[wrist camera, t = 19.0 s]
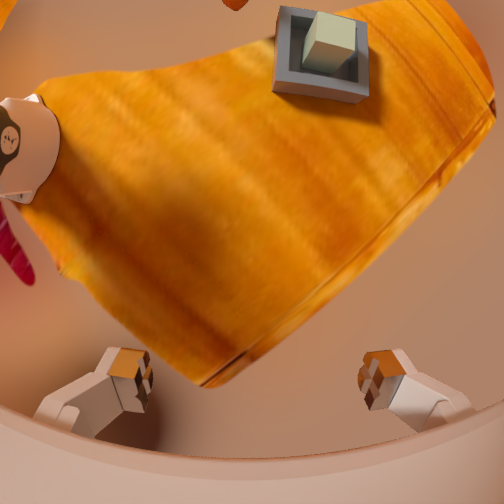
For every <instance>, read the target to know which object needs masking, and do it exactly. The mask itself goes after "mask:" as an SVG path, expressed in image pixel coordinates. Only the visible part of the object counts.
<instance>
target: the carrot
mask: <svg viewBox="0 0 504 504" xmlns="http://www.w3.org/2000/svg"><path fill="white" fill-rule="evenodd" d="M222 1H223V3H224V4H225V5H226V6H227V7H229V8H231V9H232V10H234V11H238V10H239V9H241V8H242V7H243V6H244V5H245V4H246V3H247V2H248V0H222Z"/></svg>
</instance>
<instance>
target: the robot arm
mask: <svg viewBox="0 0 504 504" xmlns="http://www.w3.org/2000/svg"><path fill="white" fill-rule="evenodd" d="M59 144H60V132H59V126H58V122H57V119H56V117H55V116H54V114H53V113H52V112H51V111H50V110H49V109H48V108H47V107H45V106H44V104H43V102H42V99H41V97H40V95H39V94H32V95H30V96H28V97H27V98H25V99H16V98H6V99H5V100H4V101H2V102H0V197H3V198H6V199H10V200H13V201H17V202H20V203H24V204H29V203H31V201H32V200H33V198H34V196H35V193H36V191H37V189H38V187H39V186H40V185H41V184H42V183H43V182H44V181H45V180H46V179H47V177H48V176H49V174H50V173H51V171H52V169H53V167H54V164H55V162H56V159H57V155H58V151H59ZM22 194H23V197H22ZM149 361H150V357H149V353H148V352H147V351H144V350H136V349H129V348H121V347H114V346H110V347H108V348H107V350H106V352H105V354H104V355H103V357H102V359H101V361H100V362H99V364H98V366H97V368H96V370H95V372H94V373H92V372H90V373H88V374H86V375H85V376H83V377H81V378H79V379H77V380H75V381H74V382H72V383H70V384H68V385H66V386H64V387H63V388H61V389H59V390H57V391H55V392H53V393H52V394H50V395H48V396H46V397H45V398H44V400H43V401H42V403H41V404H40V406H39V408H38V410H37V411H36V413H35V415H34V416H33V418H30V417H27V416H25V415H22V414H20V413H18V412H15V411H13V410H11V409H9V408H6V407H4V406H2V405H0V504H504V399H503V400H501V401H499V402H497V403H495V404H493V405H491V406H488V407H486V408H484V409H482V410H479V411H476V410H475V409H474V407H473V406H472V404H471V403H470V402H469V400H468V399H467V397H466V396H465V394H463V393H461V392H460V391H458V390H456V389H454V388H452V387H450V386H448V385H446V384H444V383H442V382H440V381H438V380H436V379H434V378H432V377H430V376H428V375H426V374H425V373H423V372H418V371H417V370H416V368H415V367H414V366H413V364H412V363H411V361H410V360H409V358H408V357H407V355H406V354H405V353H404V351H403V350H402V349H400V348H397V349H390V350H384V351H374V352H367V353H366V354H365V355H364V358H363V361H364V364H365V365H363V366H362V367H361V368H360V370H359V374H358V385H359V388H360V391H361V392H363V393H365V394H366V396H365V398H364V400H365V402H366V404H367V406H368V409H369V410H370V411H371V410H378V409H384V408H388V409H389V410H390V411H392V412H393V413H394V414H395V415H396V416H398V417H399V418H400V419H401V420H403V421H404V422H405V423H407V424H408V425H409V426H410V427H412V428H413V429H414V430H416V431H417V432H418V433H417V434H414V435H410V436H407V437H403V438H399V439H395V440H392V441H388V442H383V443H379V444H374V445H370V446H365V447H360V448H355V449H349V450H343V451H337V452H330V453H323V454H314V455H304V456H292V457H276V458H216V457H199V456H187V455H178V454H170V453H161V452H155V451H148V450H143V449H137V448H132V447H126V446H122V445H117V444H113V443H108V442H104V441H100V440H96V439H95V438H94V436H95V435H96V434H97V433H98V432H100V430H102V429H103V428H104V427H105V426H107V425H108V424H109V423H110V422H111V421H112V420H114V419H115V418H116V417H117V416H118V415H119V414H121V413H122V412H123V410H126V411H133V412H140V413H145V409H146V406H147V403H148V397H147V394H148V393H150V392H151V389H152V385H153V372H152V368H151V367H150V366H149V365H148V364H149Z"/></svg>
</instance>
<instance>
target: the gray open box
mask: <svg viewBox="0 0 504 504" xmlns="http://www.w3.org/2000/svg"><path fill="white" fill-rule="evenodd" d="M317 12H318V11H313V10H308V9H301V8H295V7H287V6H280V8H279V12H278V17H277V21H276V34H275V50H274V66H273V81H272V92H281V93H290V94H298V95H305V96H312V97H319V98H325V99H331V100H336V101H342V102H347V103H352V104H357V103H359V102H360V101H362V100H364V99H365V98H367V97H369V56H368V36H367V23H366V22H362V21H358V20H355V19H351V18H347V17H343V16H339V17H343V18H347V19H350V20H353V21H356V26H355V51H354V52H353V53H352V54H351V55H350V56H349V57H348V58H347V59H346V60H345V61H344V62H343V64H342V65H341V66H340V67H339V68H338V69H337V70H336V71H335V72H334V73H333V74H329V73H325V72H321V71H316V70H312V69H307V68H302V67H301V61H302V52H303V43H304V39H305V37H306V35H307V33H308V31H309V29H310V27H311V25H312V23H313V20H314V18H315V16H316V14H317ZM328 14H329V13H328ZM332 15H334V14H332ZM336 16H338V15H336Z"/></svg>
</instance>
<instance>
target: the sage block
mask: <svg viewBox="0 0 504 504" xmlns="http://www.w3.org/2000/svg"><path fill="white" fill-rule="evenodd" d="M355 26H356V21H353V20H350V19H347V18H343V17H339V16H336V15H332V14H328V13H324V12H320V11H318V12H317V14H316V16H315V18H314V20H313V23H312V25H311V27H310V29H309V31H308V33H307V35H306V37H305V39H304V43H303V52H302V61H301V67H302V68H307V69H312V70H316V71H321V72H325V73H329V74H333V73H334V72H335V71H336V70H337V69H338V68H339V67H340V66H341V65H342V64H343V62H344V61H345V60H346V59H347V58H348V57H349V56H350V55H351V54H352V53H353V52H354V51H355Z"/></svg>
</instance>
